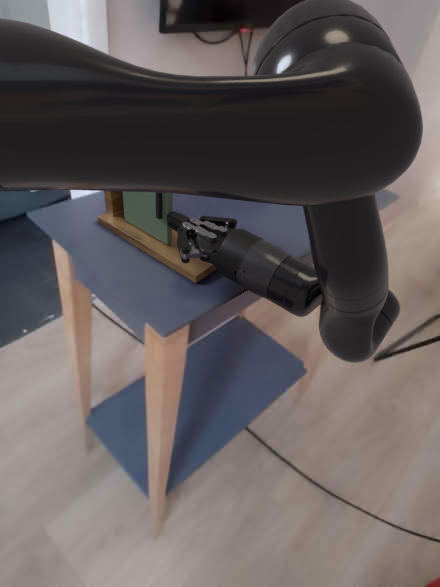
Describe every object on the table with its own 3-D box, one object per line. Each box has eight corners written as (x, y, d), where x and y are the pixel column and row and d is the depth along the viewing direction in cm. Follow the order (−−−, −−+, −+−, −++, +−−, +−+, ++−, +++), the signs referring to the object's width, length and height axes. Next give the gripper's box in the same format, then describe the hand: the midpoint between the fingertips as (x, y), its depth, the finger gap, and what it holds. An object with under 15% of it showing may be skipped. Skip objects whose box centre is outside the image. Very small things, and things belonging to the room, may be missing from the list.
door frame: (195, 283, 63) (203, 170, 50) (98, 223, 74) (84, 117, 61) (226, 262, 68) (240, 154, 55) (131, 209, 79) (124, 108, 66)
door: (164, 246, 67) (164, 162, 57) (121, 221, 71) (114, 139, 62) (172, 242, 68) (173, 159, 58) (129, 217, 73) (124, 137, 63)
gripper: (284, 225, 58) (197, 184, 66) (229, 262, 50) (138, 210, 58) (275, 265, 63) (195, 223, 71) (224, 305, 55) (140, 252, 63)
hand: (169, 217), depth 64 cm, fingers closed
